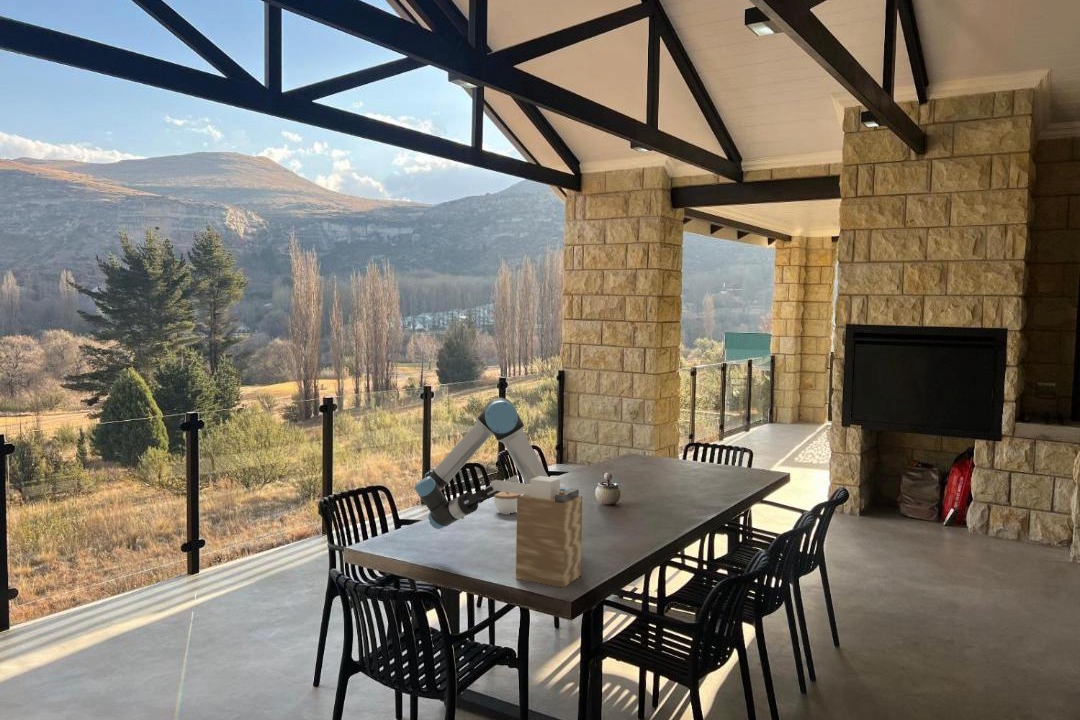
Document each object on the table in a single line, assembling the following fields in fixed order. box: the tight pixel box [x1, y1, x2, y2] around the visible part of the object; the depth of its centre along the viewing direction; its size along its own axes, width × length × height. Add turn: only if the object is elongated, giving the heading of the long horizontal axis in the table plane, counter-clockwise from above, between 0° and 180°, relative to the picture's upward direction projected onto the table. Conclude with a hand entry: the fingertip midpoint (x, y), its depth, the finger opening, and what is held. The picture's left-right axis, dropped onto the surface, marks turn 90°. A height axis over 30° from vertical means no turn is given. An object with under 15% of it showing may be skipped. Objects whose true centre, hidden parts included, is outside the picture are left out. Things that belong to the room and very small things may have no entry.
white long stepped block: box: [490, 476, 561, 499], centre depth 255 cm, size 7×25×6 cm, turn 61°
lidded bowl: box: [493, 491, 522, 515], centre depth 341 cm, size 13×13×11 cm
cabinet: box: [515, 487, 583, 589], centre depth 251 cm, size 14×18×31 cm
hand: (509, 481), depth 258 cm, fingers open, 11 cm apart
